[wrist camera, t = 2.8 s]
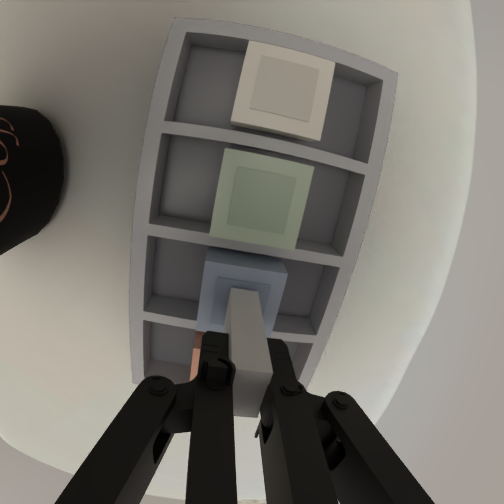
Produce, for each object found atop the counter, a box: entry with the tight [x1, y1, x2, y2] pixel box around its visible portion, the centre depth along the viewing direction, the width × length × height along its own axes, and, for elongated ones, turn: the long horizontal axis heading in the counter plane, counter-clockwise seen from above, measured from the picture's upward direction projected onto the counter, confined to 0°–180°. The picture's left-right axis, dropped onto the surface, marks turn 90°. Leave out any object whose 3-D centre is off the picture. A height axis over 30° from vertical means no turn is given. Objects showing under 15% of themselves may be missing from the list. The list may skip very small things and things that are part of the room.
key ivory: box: [231, 40, 335, 142], centre depth 14 cm, size 5×5×2 cm
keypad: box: [129, 18, 398, 390], centre depth 19 cm, size 26×14×3 cm, turn 169°
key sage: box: [209, 148, 314, 251], centre depth 16 cm, size 5×5×3 cm
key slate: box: [196, 247, 288, 338], centre depth 18 cm, size 5×5×2 cm
